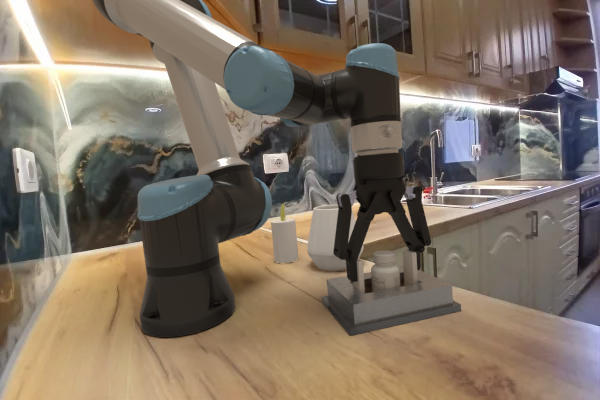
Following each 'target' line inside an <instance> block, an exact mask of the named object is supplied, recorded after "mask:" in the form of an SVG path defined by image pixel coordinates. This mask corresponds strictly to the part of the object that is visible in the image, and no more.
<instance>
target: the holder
mask: <svg viewBox="0 0 600 400" xmlns="http://www.w3.org/2000/svg"><path fill="white" fill-rule="evenodd" d="M398 267H399V272H400V287H397V288H392V289H387V290H381V291H376V292H372V278H371V271H369V272H368V271H367V272H363V273H364V287H365V294H364V293H363V292H361V291H360V290H359V289H358V288H356V287H355V286H354V285H353V282H351V281H350V280H349V279H348V278H347V275H345V276H340V277H335V278H329V279H326V288H327V289H326V290H327V295H324V296H323V295H322V296H321V303H322V305H323V306H324V307H325V308H326V309H327V310H328V311H329V312H330V314H331V315H332V316H333V318H334V319H335V320H336V321H337V322H338V324H340V327H342V328H343V329H344V330H345V332H346V333H347V334H348V335H349V336H350V337H351V336H356V335H359V334H364V333H369V332H373V331H378V330H381V329H387V328H391V327H396V326H399V325H405V324H408V323H412V322H417V321H422V320H426V319H432V318H435V317H439V316H444V315H448V314H453V313H456V312H457V313H458V312H462V304H461V303H458V302H457V301H455V300H453V297H454V296H453V284H451V283H449V282H446V281H444V280H442V279H440V278H438V277H435V276H434V275H431V274H428V273H427V272H425V271H423V270H421V269H420V270H417V276H418V284H413V285H407V286H404V267H403V266H398Z"/></svg>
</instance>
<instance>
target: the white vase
mask: <svg viewBox="0 0 600 400" xmlns="http://www.w3.org/2000/svg"><path fill="white" fill-rule="evenodd" d="M312 209H313V210H312V215H311V222H310V226H309V227H310V228H309V233H308V239H307V240H308V241H307V244H306V245H307V246H306V248H307V249H306V251H307V254H308V256H309V258H310V259H311V260H312V262H313V263H314V265H315V266H316V268H318V269H320V270H322V269H323V270H322V271H327V270H328V271H330V272H333V271H334V272H338V271H344V270H345V271H347V270H346V260H341V259H339V258H338V257H336V256H335V255H334V254H333V250H334V242H335V234H336V225H337V217H338V209H339V208H338V204H325V205H318V206H316V207H315V206H314V207H313V208H312ZM355 222H356V218H355V214H354V212H353V210H352V215H351V223H350V231H349V239H350V237H351V234H352V231H353V228H354V225H355ZM349 239H348V242H349ZM364 248H365V246H364V244H363V245H362V248H361V251H360V254H359V257H358V259H359V260H360V257H361V255H362V253H363V251H364ZM328 271H327V272H328Z"/></svg>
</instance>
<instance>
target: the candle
mask: <svg viewBox="0 0 600 400" xmlns="http://www.w3.org/2000/svg"><path fill="white" fill-rule="evenodd" d="M279 213H280V214H279V215H280V216H279V217H280V218H278V219H274V220H273V219H272V220H271V221H270V226H271V238H272V246H273V247H272V248H273V259H274V263H275V262H278V263H289V262H293V261H296V260H297V259H298V258H299V249H298V248H299V247H298V238H297V237H298V236H297V225H296V219H295V218H286V211H285V204H284V203H282V204H281V207H280V212H279ZM296 262H297V261H296ZM278 263H277V264H278ZM289 264H290V263H289Z"/></svg>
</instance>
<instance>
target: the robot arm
mask: <svg viewBox="0 0 600 400" xmlns="http://www.w3.org/2000/svg"><path fill="white" fill-rule="evenodd" d="M91 1H92V3H93V5H94V6H95V8H96V10H97V11H98V12H99V13H100V14H101V16H102V17H104V18H105V19H106V20H107V21H108V22H109V23H110V24H113V25H114V26H116V27H118V28H119V29H121V30H123V31H125V32H127V33H130V34H134V35H138V36H140V37H144V38H146V39H147V41H149V42H148V43H149V45H150V48H151V51H152V54H153V56H154V58H155V60H157V61H158V62H160V63H162V64H164V67H165V69H166V73H167V75H168V78H169V82H170V85H171V89H172V91H173V94H174V97H175V101H176V104H177V107H178V109H179V113H180V116H181V118H182V122H183V125H184V128H185V132H186V135H187V137H188V141H189V144H190V147H191V149H192V153H193V156H194V158H195V163H196V165H197V169H198V172H197V173H196V175H189V176H182V177H178V178H170V179H166V180H161V181H158V182H153V183H149V184H147V185H144V186H142V188H140V190H139V191H138V194H137V218H138V219H139V220H138V221H139V226H140V227H139V228H140V233H141V240H142V249H143V255H144V263H145V271H146V282H145V288H144V291H143V297H142V301H141V307H140V312H139V320H140V328H141V330H142V331H143V333H144V334H146V335H149V336H153V337H158V338H173V337H181V336H188V335H192V334H196V333H199V332H200V333H201V332H202V331H206V330H208V329H210V328H213V327H216V326H217V325H218V324H221V323H222V322H224V321H225V320H226V319H228V318H229V317H231V315H233V313H234V312H235V310H236V302H235V301H236V300H235V294H234V291H233V288H232V287H231V284H230V283H229V279H228V278H227V276H226V273H225V272H224V270H223V267H222V266H221V259H220V249H219V244H221V243H222V244H223V243H224V242H227V241H230V240H233V239H237V238H239V237H243V236H247V235H250V234H252V233H253V232H255V231H257V230H259V229H261V228H262V227H263V226H264V225H265V224H266V223H267V221H268V220H269V217H270V215H271V212H272V206H273V200H272V199H273V198H272V195H271V191H270V189H269V187H268V185H266V183H265V182H263V181H262V180H261V179H259V178H257V177H255V176H254V172H253V171H252V168H251V165H250V163H249V162H247V161H245V160H244V159H243V160H242V158H240V154H239V152H238V147H237V146H236V145H237V144H236V143H235V140H234V136H233V133H232V131H231V127H230V124H229V121H228V118H227V116H226V112H225V110H224V106H223V103H222V100H221V97H220V94H219V92H218V87H217V85H218V86H219V87H221V88H222V89H223V90H225V92H226V93H227V95H228V97H229V100H230V101H231V102H232V103H233V104H234V105H235V106H236V107H238V108H240V109H242V110H245V111H247V112H250V113H252V114H253V115H254V114H255V115H257V116H268V117H272V118H273V117H274V118H279V119H280V120H281V122H283V123H284V125H285V126H286V127H290V128H296V127H297V128H298V127H304V128H307V127H309V126H311V125H312V126H314V125H317V124H323V123H329V122H335V121H339V120H348V119H349V120H350V134H351V135H350V136H351V149H352V153H353V154H356V156H355V157H353V159H352V163H353V164H352V165H353V178H354V183H355V184H354V187H353V190H352V191H350V192H346V193H342V192H341V193H340V192H339V193H337V194H336V195H335V196H336V197H335V198H336V199H335V200H336V203H337V204H338V208H339V209H338V217H337V225H336V234H335V242H334V250H333V254H334V255H335V256H336V257H338V258H339V259H341V260H346V270H345V271H346V276H347V278H348V279H349V280H350V281H351V282H353V285H354V286H355V287H356V288H358V289H359V290H360V291H361V292H363V293H364V294H365V287H364V273H365V272H364V261H362V260H361V259H360V257H359V254H360V251H361V248H362V245H363V246H364V242H365V240H366V237H367V233H368V231H369V228H370V225H371V223H372V221H373V220H374V218H375V217H376V215H380V214H383V213H386V214H387V213H388V215H389V216H390V217H391V219H392V221H393V223H394V225H395V226H396V228H397V231H398V232H399V234H400V236H401V238H402V240H403V241H404V244H405V246H406V247H407V248H408V249H407V248H406V249H402V264H403V266H402V267H404V286H407V285H413V284H418V276H417V270H420V271H421V267H422V265H421V262H422V261H421V260H422V259H421V253H424V252H425V250H426V247H429V246H431V244H432V240H431V235H430V230H429V227H428V221H427V219H426V213H425V209H424V205H423V201H422V200H423V188H422V186H420V185H409V186H407V185H406V184H405V183H404V179H403V178H404V175H405V168H404V165H405V164H404V155H403V154H402V152H399V150H401V149H402V148H403V139H402V138H403V137H402V136H403V135H402V116H401V115H402V114H401V93H400V92H401V91H400V90H401V89H400V79H401V77H400V75H399V68H398V66H399V65H398V59H397V51H396V49H395V48H394V47H392V45H389V44H387V43H381V42H379V43H377V42H375V43H367V44H363V45H359V46H358V47H356V48H354V49H351V50H350V51H349V52H348V53H347V54H346V58H345V61H346V62H345V67H344V68H342V69H341V68H340V69H339V70H335V71H331V72H327V73H322V74H315V73H313V72H311V71H309V70H308V69H305V68H303V67H301V66H299V65H297V64H295V63H293V62H292V61H290V60H288V59H286V58H284V57H283V56H281V55H280V54H278V53H275V52H274V51H273V50H270V49H268V48H267V47H264V46H263V45H260V44H258V43H256V42H255V41H254V40H251V39H250V38H248V37H246V36H245V35H243V34H241V33H239V32H237V31H236V30H234V29H232V28H230V27H229V26H227V25H225V24H224V23H221V22H219V21H218V20H216V19H215V18H213V16H212V14H211V11H210V10H209V8H208V6H207V4H206V3H205V2H204V1H203V0H91ZM403 197H404V198H405V199H406V200H405V201H406V206H407V210H408V215H409V218H408V217H407V215H406V209H405V207H404V205H403V204H402V199H403ZM355 200H356V201H357V202H358V204H359V207H358V210H357V213H356V215H357V216H356V219H355V221H356V222H355V225H354V228H353V231H352V234H351V237H350V239H349V231H350V223H351V215H352V211H353V208H352V207H353V206H354V204H355ZM409 219H410V220H409ZM410 222H411V223H410ZM348 239H349V242H348ZM358 257H359V259H358Z"/></svg>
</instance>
